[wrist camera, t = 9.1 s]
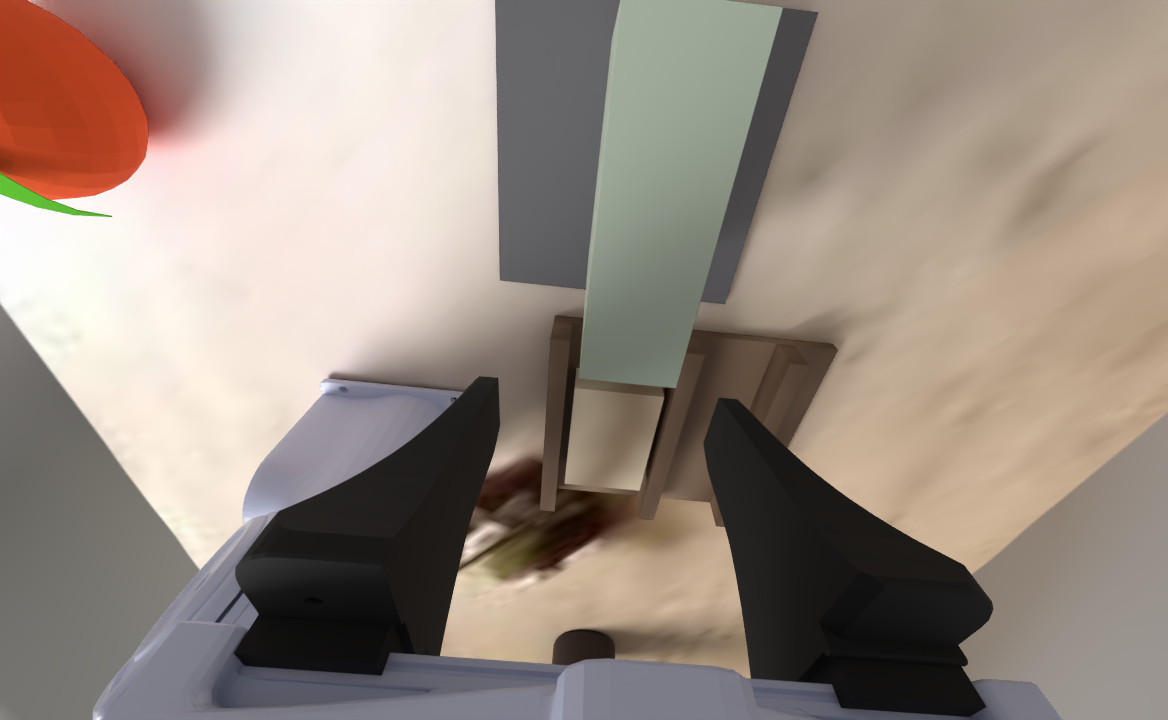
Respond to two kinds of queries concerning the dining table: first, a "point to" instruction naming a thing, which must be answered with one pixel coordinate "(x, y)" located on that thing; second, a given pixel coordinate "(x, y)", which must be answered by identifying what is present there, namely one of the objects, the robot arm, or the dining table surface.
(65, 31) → the tomato
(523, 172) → the mat
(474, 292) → the dining table surface
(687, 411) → the rack
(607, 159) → the sage panel
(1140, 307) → the dining table surface
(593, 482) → the offcut top
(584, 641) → the bottle
